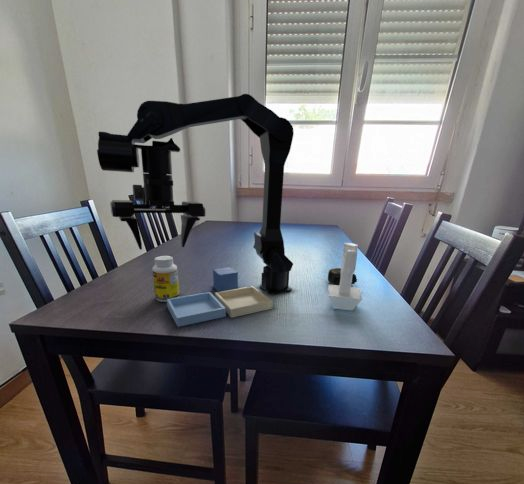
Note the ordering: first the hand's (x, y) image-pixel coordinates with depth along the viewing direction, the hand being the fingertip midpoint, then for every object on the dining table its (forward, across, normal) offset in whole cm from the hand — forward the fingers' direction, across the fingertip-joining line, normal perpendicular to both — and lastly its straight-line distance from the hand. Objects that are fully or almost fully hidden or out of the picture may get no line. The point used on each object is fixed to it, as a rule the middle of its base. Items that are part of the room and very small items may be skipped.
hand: (162, 247), depth 64 cm
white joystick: (+11, -36, +23) cm, 44 cm away
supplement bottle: (+13, -1, 0) cm, 13 cm away
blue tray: (+12, -4, +10) cm, 16 cm away
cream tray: (+12, -15, +11) cm, 22 cm away
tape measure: (+11, -46, +12) cm, 49 cm away
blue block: (+12, -16, 0) cm, 20 cm away
